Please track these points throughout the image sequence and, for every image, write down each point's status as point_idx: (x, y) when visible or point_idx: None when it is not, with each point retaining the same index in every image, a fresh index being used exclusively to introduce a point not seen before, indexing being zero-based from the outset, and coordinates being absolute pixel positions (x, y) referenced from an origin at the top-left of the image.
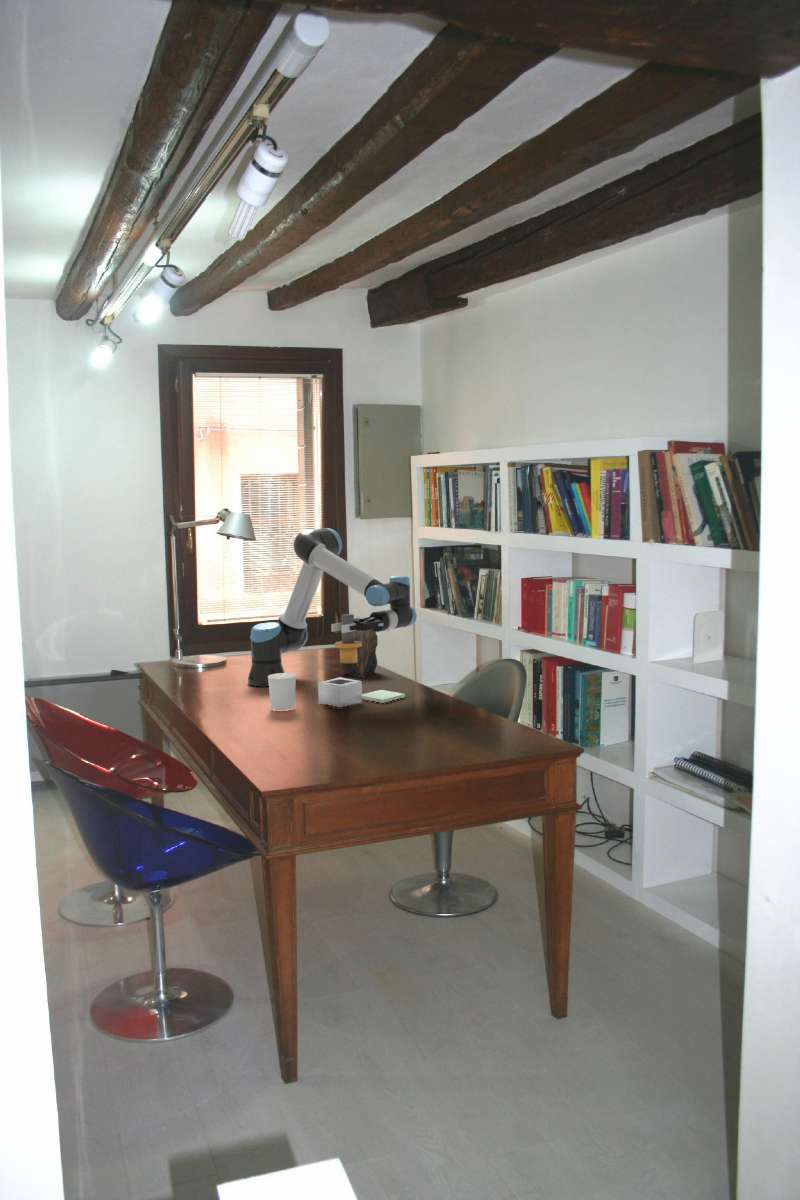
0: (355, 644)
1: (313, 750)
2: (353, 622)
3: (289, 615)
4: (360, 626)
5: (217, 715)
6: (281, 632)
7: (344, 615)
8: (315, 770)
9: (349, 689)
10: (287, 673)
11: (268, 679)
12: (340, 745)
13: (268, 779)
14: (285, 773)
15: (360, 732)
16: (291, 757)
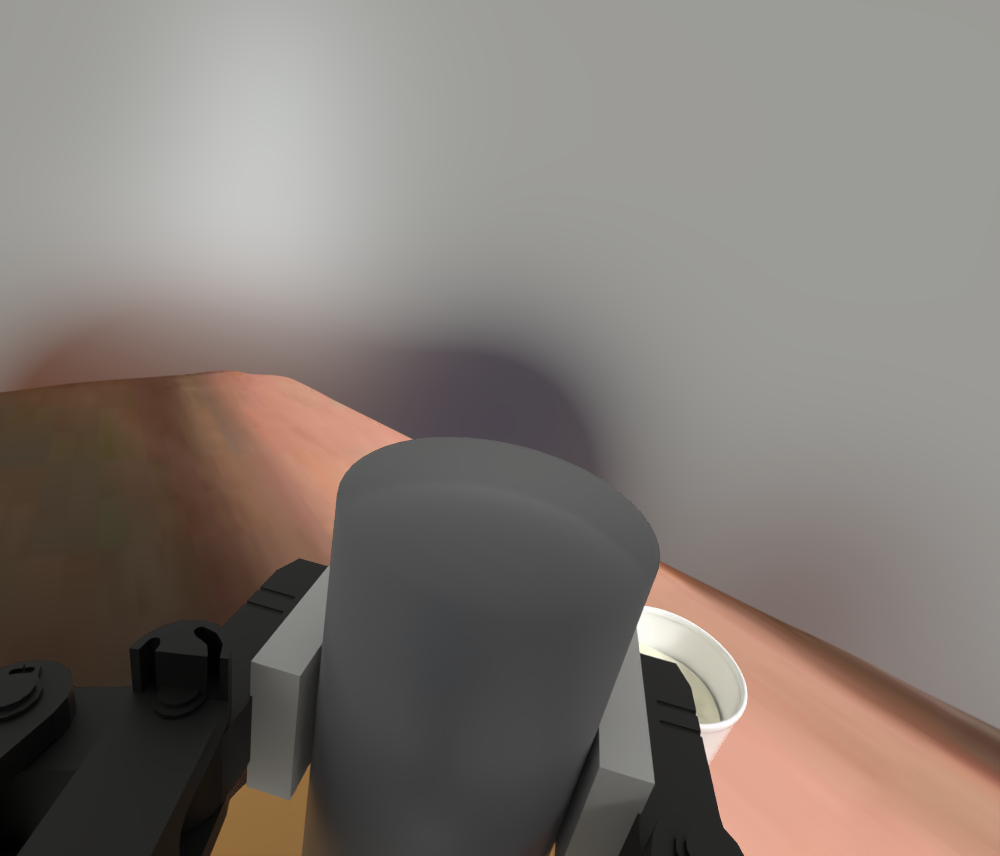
0: (232, 797)
1: (252, 458)
2: (322, 652)
3: None
4: (116, 706)
5: (707, 628)
6: None
7: (518, 462)
8: (213, 401)
9: None
10: (710, 723)
11: (685, 630)
12: (188, 484)
13: (282, 384)
14: (264, 395)
15: (132, 573)
16: (286, 433)
